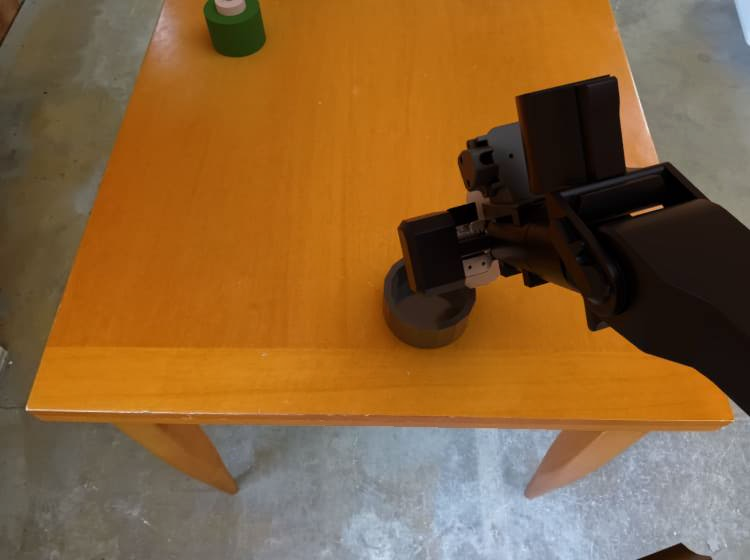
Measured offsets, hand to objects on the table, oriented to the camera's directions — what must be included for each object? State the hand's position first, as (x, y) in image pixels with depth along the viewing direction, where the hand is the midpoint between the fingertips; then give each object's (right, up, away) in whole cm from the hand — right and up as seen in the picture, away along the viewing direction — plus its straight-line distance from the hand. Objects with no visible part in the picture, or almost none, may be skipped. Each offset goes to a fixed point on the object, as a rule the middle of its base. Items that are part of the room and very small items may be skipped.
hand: (476, 222), depth 54 cm
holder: (-4, -9, +9) cm, 13 cm away
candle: (-31, +32, +35) cm, 56 cm away
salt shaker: (+1, -5, +5) cm, 7 cm away
